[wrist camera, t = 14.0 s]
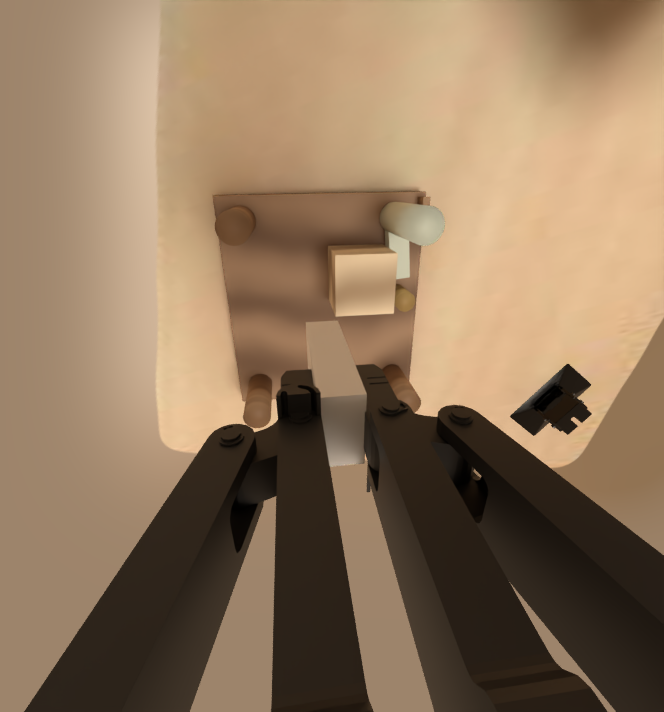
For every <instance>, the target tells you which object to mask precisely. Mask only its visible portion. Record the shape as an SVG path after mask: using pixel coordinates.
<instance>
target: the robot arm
mask: <svg viewBox="0 0 664 712" xmlns="http://www.w3.org/2000/svg"><path fill="white" fill-rule="evenodd" d="M306 337H307V357H308V369H305V370H290V371H286V372H285V373H284V374H283V375H282V377H281V389H280V390H279V391H278V392H277V395H276V401H277V412H278V420H277V422H276V423H274V424H273V425H272V426H270V427H268V428H266V429H264V430H261V431H258V432H254V431H253V429H252V428H250V427H249V426H247V425H242V424H231V425H227V426H223V427H221V428H219V429H217V430H215V431H214V432H213V433H212V434H211V435H210V436H209V437H208V439H207V440H206V442H205V443H204V445H203V446H202V448H201V449H200V451H199V452H198V454H197V456H196V457H195V458H194V460H193V461H192V463H191V464H190V466H189V467H188V469H187V470H186V472H185V473H184V475H183V476H182V478H181V479H180V481H179V482H178V484H177V485H176V486H175V488H174V489H173V491H172V493H171V494H170V495H169V497H168V498H167V500H166V501H165V503H164V504H163V506H162V507H161V509H160V510H159V512H158V513H157V515H156V516H155V518H154V519H153V521H152V522H151V524H150V525H149V527H148V528H147V530H146V531H145V533H144V534H143V536H142V537H141V539H140V540H139V542H138V543H137V545H136V546H135V548H134V549H133V551H132V552H131V554H130V555H129V557H128V558H127V559H126V561H125V562H124V564H123V565H122V567H121V568H120V570H119V571H118V573H117V575H116V576H115V577H114V579H113V580H112V582H111V583H110V585H109V586H108V588H107V589H106V591H105V592H104V594H103V595H102V597H101V598H100V600H99V601H98V603H97V604H96V606H95V607H94V609H93V610H92V612H91V613H90V615H89V616H88V618H87V619H86V621H85V622H84V624H83V625H82V627H81V628H80V629H79V631H78V632H77V634H76V635H75V637H74V638H73V640H72V641H71V643H70V644H69V646H68V647H67V649H66V651H65V652H64V653H63V655H62V656H61V658H60V659H59V661H58V662H57V664H56V665H55V667H54V668H53V670H52V671H51V673H50V674H49V676H48V677H47V679H46V680H45V682H44V683H43V685H42V686H41V688H40V689H39V691H38V692H37V694H36V695H35V697H34V698H33V699H32V701H31V703H30V704H29V705H28V707H27V708H26V710H25V711H24V712H190V709H191V706H192V704H193V701H194V698H195V695H196V692H197V690H198V687H199V684H200V681H201V678H202V676H203V673H204V670H205V667H206V664H207V662H208V659H209V656H210V653H211V650H212V648H213V645H214V642H215V639H216V637H217V634H218V631H219V628H220V625H221V623H222V620H223V617H224V614H225V611H226V609H227V606H228V603H229V600H230V597H231V595H232V592H233V589H234V586H235V583H236V581H237V578H238V575H239V572H240V569H241V567H242V564H243V561H244V558H245V555H246V553H247V550H248V547H249V544H250V542H251V539H252V536H253V533H254V530H255V527H256V525H257V522H258V519H259V516H260V514H261V510H262V508H263V502H264V500H267V499H270V498H272V497H275V496H277V497H276V538H275V540H276V541H275V582H274V584H275V585H274V626H273V670H272V675H273V676H272V708H271V712H373V709H372V706H371V704H370V702H369V699H368V695H367V689H366V684H365V679H364V673H363V666H362V660H361V654H360V648H359V642H358V636H357V630H356V623H355V617H354V611H353V605H352V599H351V593H350V587H349V581H348V575H347V569H346V563H345V557H344V551H343V544H342V538H341V533H340V526H339V520H338V514H337V508H336V503H335V496H334V490H333V484H332V478H331V471H330V467H332V466H342V465H353V464H363V463H364V461H365V454H366V457H367V460H368V469H367V492H370V486H371V489H372V492H373V496H374V499H375V503H376V506H377V510H378V514H379V517H380V521H381V524H382V528H383V531H384V535H385V538H386V541H387V545H388V549H389V552H390V556H391V559H392V563H393V566H394V570H395V574H396V577H397V580H398V584H399V588H400V591H401V595H402V598H403V602H404V605H405V609H406V613H407V616H408V619H409V623H410V626H411V630H412V634H413V637H414V641H415V644H416V648H417V651H418V655H419V658H420V662H421V666H422V669H423V673H424V676H425V680H426V683H427V686H428V690H429V694H430V697H431V700H432V704H433V708H434V711H435V712H607V710H606V709H605V707H604V706H603V704H602V703H601V702H600V700H599V699H598V697H597V696H596V695H595V693H594V692H593V690H592V689H591V688H590V687H589V686H588V685H587V684H586V683H585V682H584V681H583V680H582V679H581V678H580V677H579V676H578V675H575V674H573V673H571V672H568V671H566V670H564V669H562V668H561V667H560V666H559V665H558V664H557V663H556V662H555V661H554V659H553V658H552V656H551V655H550V653H549V652H548V650H547V648H546V646H545V645H544V643H543V641H542V639H541V638H540V636H539V634H538V632H537V631H536V629H535V627H534V625H533V624H532V622H531V620H530V618H529V616H528V615H527V613H526V611H525V609H524V607H523V606H522V604H521V602H520V600H519V599H518V597H517V595H516V593H515V591H514V590H513V588H512V586H511V584H512V585H513V587H515V589H516V590H517V591H518V593H519V594H520V595H521V596H522V597H523V599H524V600H525V601H526V602H527V604H528V605H529V606H530V607H531V608H532V610H533V611H534V612H535V613H536V615H537V616H538V617H539V618H540V619H541V621H542V622H543V623H544V624H545V626H546V627H547V628H548V629H549V630H550V632H551V633H552V634H553V635H554V636H555V638H556V639H557V640H558V641H559V643H560V644H561V645H562V646H563V647H564V649H565V650H566V651H567V652H568V654H569V655H570V656H571V657H572V658H573V660H574V661H575V662H576V663H577V664H578V666H579V667H580V668H581V669H582V670H583V672H584V673H585V674H586V675H587V676H588V678H589V679H590V680H591V681H592V683H593V684H594V685H595V686H596V688H597V689H598V690H599V691H600V692H601V694H602V695H603V696H604V697H605V699H606V700H607V701H608V702H609V703H610V705H611V706H612V707H613V708H614V709H615V710H616V712H664V555H662V554H661V553H660V552H658V551H657V550H656V549H655V548H653V547H652V546H651V545H649V544H648V543H647V542H645V541H644V540H643V539H641V538H640V537H639V536H638V535H636V534H635V533H634V532H632V531H631V530H630V529H628V528H627V527H626V526H625V525H623V524H622V523H621V522H619V521H618V520H617V519H616V518H614V517H613V516H612V515H610V514H609V513H608V512H607V511H605V510H604V509H603V508H601V507H600V506H599V505H597V504H596V503H595V502H593V501H592V500H591V499H590V498H588V497H587V496H586V495H584V494H583V493H582V492H580V491H579V490H578V489H577V488H575V487H574V486H573V485H571V484H570V483H569V482H568V481H566V480H565V479H564V478H562V477H561V476H560V475H558V474H557V473H556V472H555V471H553V470H552V469H551V468H549V467H548V466H547V465H546V464H544V463H543V462H542V461H540V460H539V459H538V458H536V457H535V456H534V455H533V454H531V453H530V452H529V451H527V450H526V449H525V448H523V447H522V446H521V445H520V444H518V443H517V442H516V441H514V440H513V439H512V438H511V437H509V436H508V435H507V434H505V433H504V432H503V431H501V430H500V429H499V428H498V427H496V426H495V425H494V424H492V423H491V422H490V421H488V420H487V419H486V418H485V417H483V416H482V415H481V414H479V413H478V412H476V411H475V410H473V409H471V408H468V407H465V406H460V405H450V406H445V407H443V408H441V409H440V411H439V412H438V417H431V416H423V415H418V414H415V413H414V412H413V411H412V409H411V407H410V406H409V405H408V404H407V403H405V402H403V401H401V400H398V399H397V397H396V395H395V393H394V391H393V389H392V387H391V386H390V384H389V382H388V380H387V378H386V376H385V374H384V372H383V370H382V369H380V368H379V367H378V366H376V365H375V364H365V365H355V363H354V360H353V358H352V355H351V353H350V350H349V348H348V345H347V343H346V340H345V338H344V335H343V333H342V330H341V327H340V325H339V322H338V321H319V322H306ZM474 469H475V470H476V471H477V472H478V473H479V474H480V475H481V476H482V477H481V478H480V477H479V476H477V475H476V474H475V473H474V472H473V471H474ZM508 580H509V581H508ZM509 582H510V583H511V584H510V583H509Z"/></svg>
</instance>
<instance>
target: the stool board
mask: <svg viewBox="0 0 664 712" xmlns="http://www.w3.org/2000/svg"><path fill="white" fill-rule="evenodd" d="M213 202H214V208H215V215H216V222H215V230H216V233H217V236H218V237H219V243H220V249H221V256H222V263H223V270H224V277H225V284H226V290H227V297H228V304H229V311H230V318H231V325H232V332H233V338H234V345H235V352H236V359H237V366H238V373H239V379H240V386H241V393H242V400H243V401H246V403H245V409H244V415H243V419H244V421H245V423H246V424H247V425H248V426H250V427H253V428H261V427H264V426H266V425H267V424H268V423H269V421H270V418H271V401H272V399H276V395H277V392H278V391H279V390H280V389H281V377H282V375H283V374H284V373H285V372H286V371H290V370H305V369H308V357H307V337H306V322H319V321H338V322H339V325H340V327H341V330H342V333H343V335H344V338H345V340H346V343H347V345H348V348H349V350H350V353H351V355H352V358H353V360H354V363H355V365H365V364H375V365H376V366H378V367H379V368H380V369H382V370H383V372H384V374H385V376H386V378H387V380H388V382H389V384H390V386H391V387H392V389H393V391H394V393H395V395H396V397H397V399H398V400H401V401H403V402H405V403H407V404H408V405H409V406H410V407H411V409H412V411H413V412H414V413H415V412H416V411H417V410H418V409H419V407H420V405H421V400H420V398H419V396H418V395H417V393H416V391H415V390H414V388H413V387H412V385H411V384H410V382H409V375H410V364H411V353H412V342H413V331H414V320H415V309H416V297H417V286H418V275H419V264H420V253H421V245H418V244H415V243H413V242H411V241H409V260H410V277H409V278H402V279H396V288H395V303H394V314H376V315H356V316H337V317H336V316H335V314H334V311H333V309H332V306H331V304H330V301H329V282H328V246H339V245H373V244H383V245H384V246H385V230H384V229H383V227H382V226H381V224H380V213H381V211H382V209H383V208H384V206H385V205H387V204H388V203H390V202H404V203H411V204H419V205H427V206H430V197H426V192H420V191H419V192H366V193H313V194H260V195H215V196H213Z"/></svg>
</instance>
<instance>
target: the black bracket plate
mask: <svg viewBox="0 0 664 712" xmlns="http://www.w3.org/2000/svg"><path fill="white" fill-rule="evenodd" d="M590 386H591V384H590V383H589V382H588V381H587V380H586V379H585V378H583V377H582V376H581V375H580V374H579V373H578V372H577V371H576V370H575V369H574V368H572V367H571V366H570V365H569V364H566V365H565V366H564V367H563V368H562V369H561V370H560V371H559V372H558V373H557V374H555V375H554V376H553V377H552V378H551V379H550V380H549V381H548V382H547V383H546V384H545V385H543V386H542V387H541V388H540V389H539V390H538V391H537V392H536V393H535V394H534V395H533V396H531V397H530V398H529V399H528V400H527V401H526V402H525V403H524V404H523V405H522V406H521V407H519V408H518V409H517V410H516V411H515V412H514V413H513V414H512V415H511V416H510V417H511V418H512V419H513V420H515V421H516V422H517V423H518V424H520V425H521V426H522V427H523V428H525V429H526V430H527V431H528V432H530V433H531V434H532V435H533V436H534V435H536V434H537V433H538V432H539V431H540V430H541V429H543V428H544V427H545V426H546V425H547V424H548V423H551V424H552V425H551V426H552V427H553V428H557V429H558V430H559V431H560V432H561V431H564V432H565V433H566V434H567V435H568V434H569V433H571V432H572V431H573V430H574V429H575V428H576V427H578V426H577V425H576V424H575V423H574V422H573V421H571V418H572V417H575V418H576V419H577V420H579V421H580V422H581V423H582V422H583V421H585V420H586V419H587V418H588V417H589V416H590V415H592V413H590V412H589V411H588V410H587V407H586V406H585V405H584V404H583V403H584V402H583V401H582V400H578V399H577V397H579V396H580V395H581V394H582V393H583V392H584V391H585V390H586V389H588V388H589V387H590Z"/></svg>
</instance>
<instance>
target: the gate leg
mask: <svg viewBox="0 0 664 712" xmlns="http://www.w3.org/2000/svg"><path fill="white" fill-rule="evenodd" d="M380 224H381V226H382V227H383V229H384V230H385V246H386V247H388V248H390V249H391V250H393V251H395V252H396V253H398V259H397V274H396V279H402V278H409V277H410V260H409V241H411V242H413V243H415V244H418V245H421V246H428V245H431V244H433V243H435V242H436V241H437V240H438V239H439V238H440V237H441V235H442V233H443V231H444V227H445V220H444V216H443V214H442V212H441V211H440V210H439V209H438V208H436V207H433V206H427V205H419V204H411V203H404V202H390V203H388V204H387V205H385V206H384V208H383V209H382V211H381V213H380Z"/></svg>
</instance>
